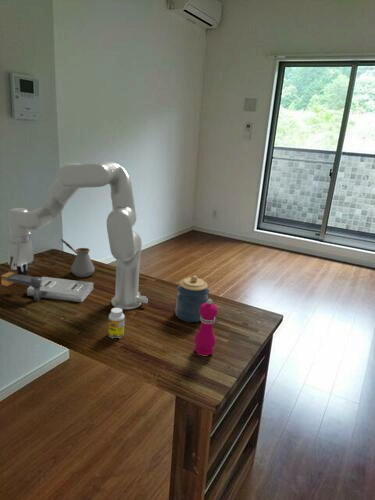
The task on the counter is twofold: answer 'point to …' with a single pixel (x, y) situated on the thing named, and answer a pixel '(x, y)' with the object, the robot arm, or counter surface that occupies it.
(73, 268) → the coffee pot
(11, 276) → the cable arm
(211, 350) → the pepper mill
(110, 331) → the supplement bottle
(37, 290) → the pivot post
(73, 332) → the counter surface
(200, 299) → the canister
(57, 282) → the panel
